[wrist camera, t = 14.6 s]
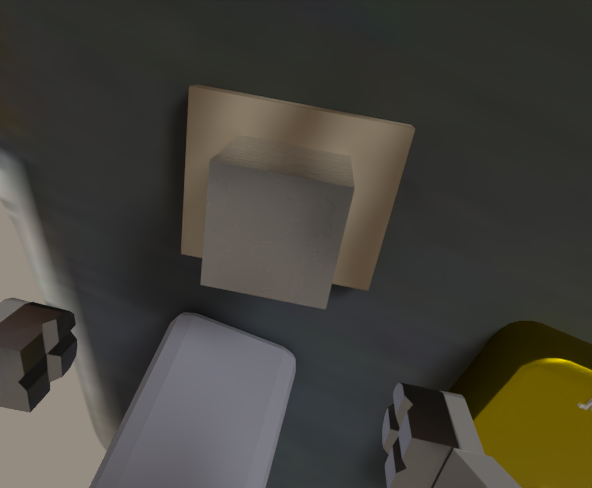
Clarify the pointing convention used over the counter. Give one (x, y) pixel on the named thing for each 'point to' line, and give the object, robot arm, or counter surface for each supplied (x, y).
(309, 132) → the birch base
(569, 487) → the element tile
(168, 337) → the soap bottle
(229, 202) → the upright gray block
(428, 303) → the counter surface
